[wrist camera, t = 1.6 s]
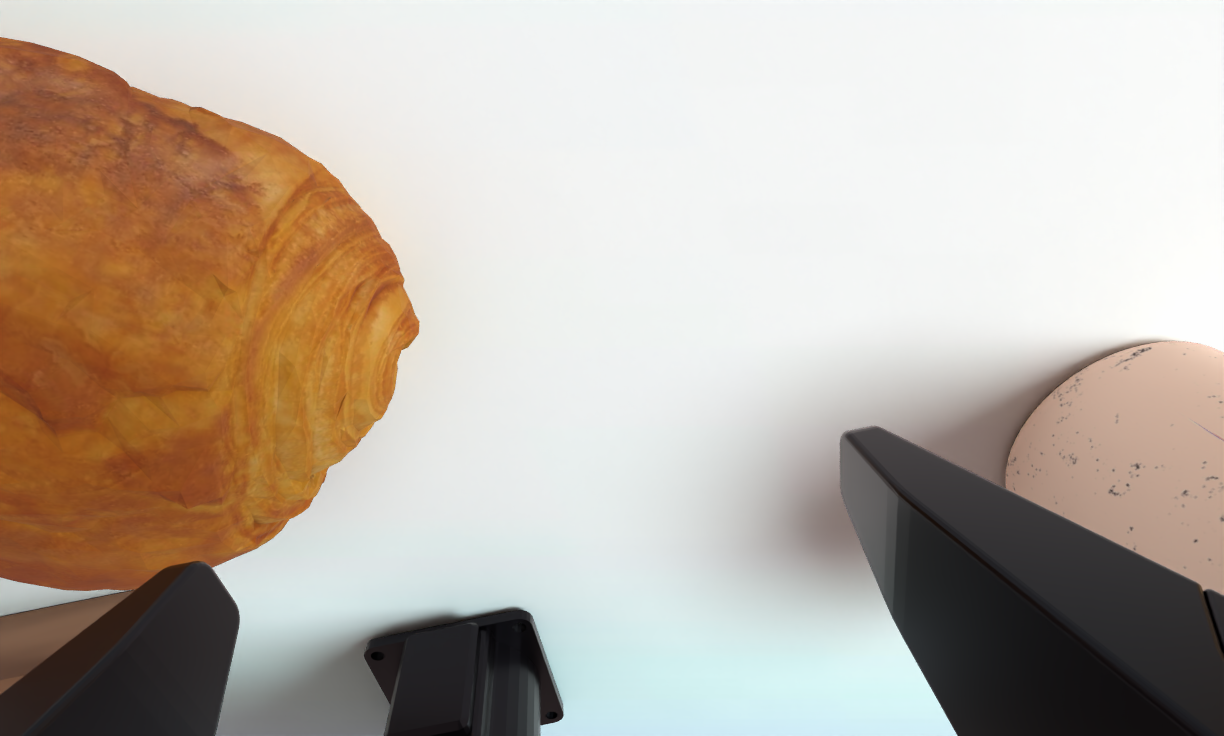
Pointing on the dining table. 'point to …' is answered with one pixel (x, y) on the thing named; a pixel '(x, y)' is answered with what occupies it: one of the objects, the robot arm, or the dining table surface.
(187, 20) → the dining table surface
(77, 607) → the walnut u-shaped frame
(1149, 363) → the teacup with lid
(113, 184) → the croissant
